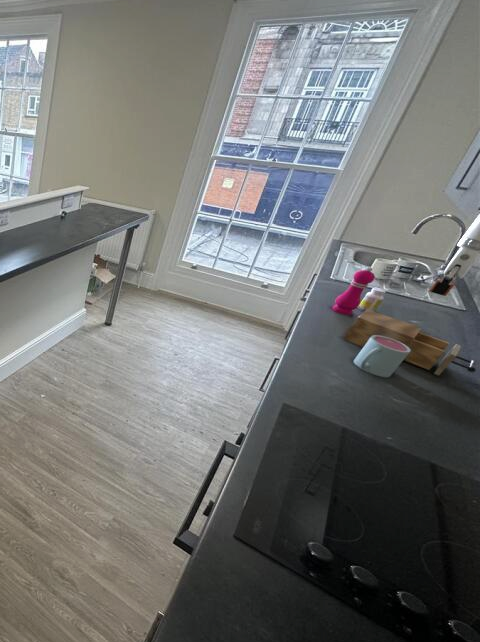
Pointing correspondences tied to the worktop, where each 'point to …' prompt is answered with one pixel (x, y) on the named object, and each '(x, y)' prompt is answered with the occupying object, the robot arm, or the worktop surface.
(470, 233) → the robot arm
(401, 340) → the cabinet
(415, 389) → the worktop surface
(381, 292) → the supplement bottle
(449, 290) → the block
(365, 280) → the pepper mill
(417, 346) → the drawer
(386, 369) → the mug
